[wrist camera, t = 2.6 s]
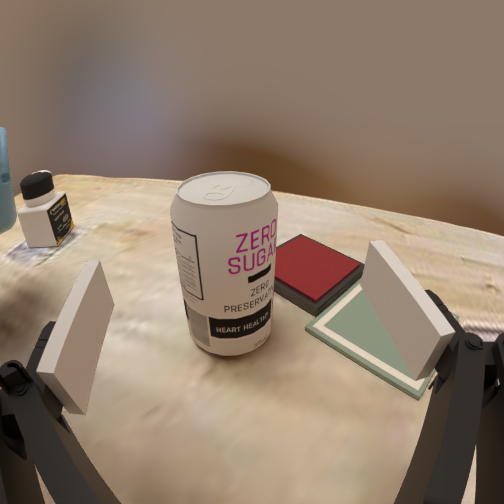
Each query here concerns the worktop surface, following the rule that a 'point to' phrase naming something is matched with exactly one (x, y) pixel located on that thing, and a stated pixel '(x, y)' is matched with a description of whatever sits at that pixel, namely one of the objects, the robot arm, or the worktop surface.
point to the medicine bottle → (43, 211)
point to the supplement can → (226, 258)
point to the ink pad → (313, 273)
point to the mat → (365, 339)
